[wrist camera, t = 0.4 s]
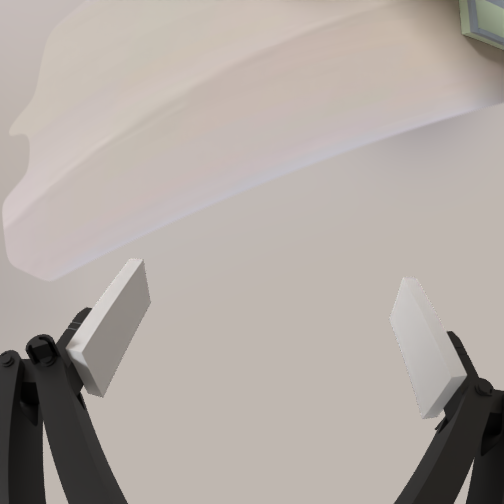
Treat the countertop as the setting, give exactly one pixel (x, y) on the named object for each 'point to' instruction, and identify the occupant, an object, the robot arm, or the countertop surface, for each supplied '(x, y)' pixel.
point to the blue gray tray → (483, 20)
